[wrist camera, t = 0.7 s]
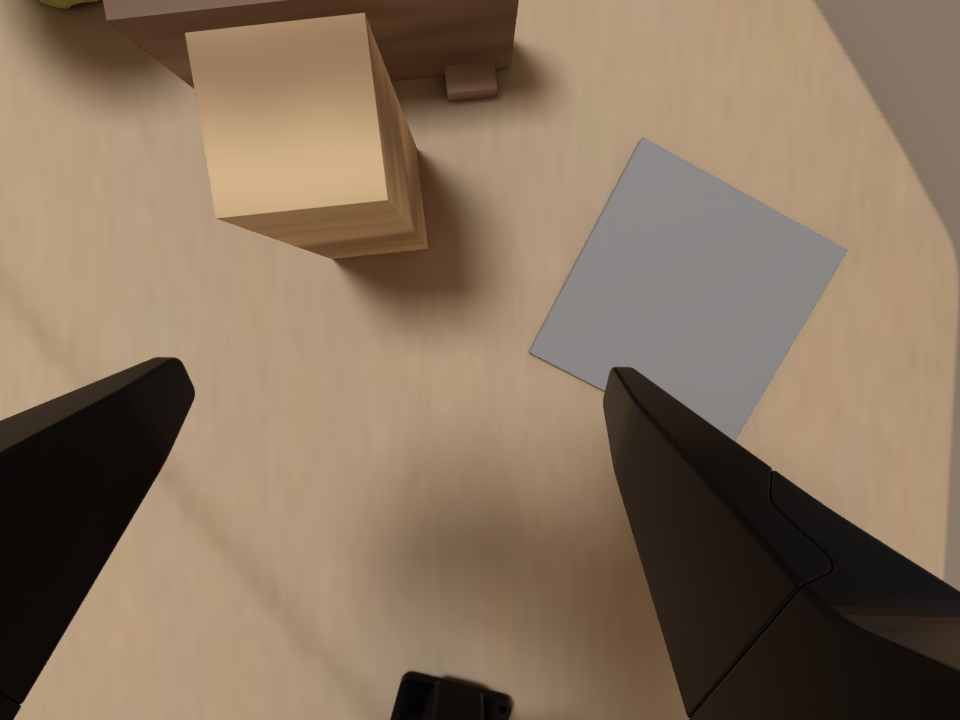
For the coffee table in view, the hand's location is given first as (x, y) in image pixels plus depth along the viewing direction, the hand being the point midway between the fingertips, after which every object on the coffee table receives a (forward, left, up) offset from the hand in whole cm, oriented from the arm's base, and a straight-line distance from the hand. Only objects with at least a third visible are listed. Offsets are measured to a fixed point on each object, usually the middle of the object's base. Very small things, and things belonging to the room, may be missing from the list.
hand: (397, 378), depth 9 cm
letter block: (+6, +5, -14) cm, 16 cm away
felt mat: (+5, -12, -14) cm, 19 cm away
